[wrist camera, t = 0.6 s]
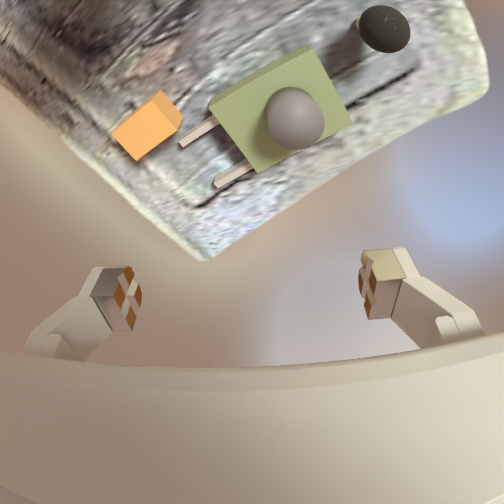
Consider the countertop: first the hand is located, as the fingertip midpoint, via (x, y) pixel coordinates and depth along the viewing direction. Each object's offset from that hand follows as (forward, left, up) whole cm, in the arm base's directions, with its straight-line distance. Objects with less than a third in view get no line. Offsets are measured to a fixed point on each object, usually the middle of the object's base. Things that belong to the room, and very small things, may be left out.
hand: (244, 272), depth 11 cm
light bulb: (+2, +16, -34) cm, 38 cm away
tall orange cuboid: (-1, -13, -34) cm, 36 cm away
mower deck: (+7, -2, -34) cm, 34 cm away
